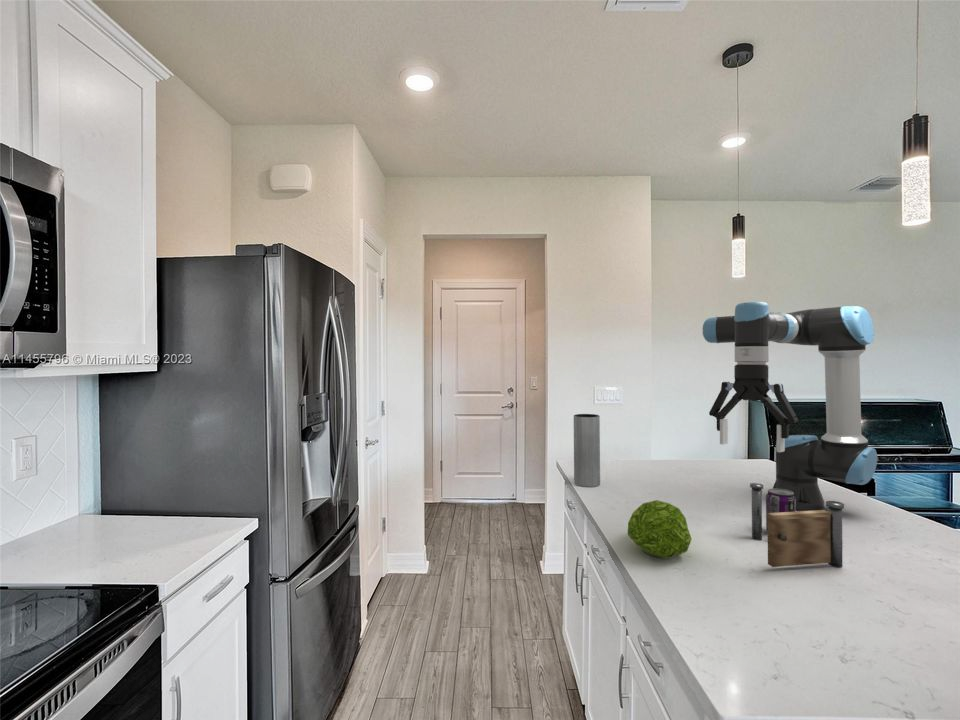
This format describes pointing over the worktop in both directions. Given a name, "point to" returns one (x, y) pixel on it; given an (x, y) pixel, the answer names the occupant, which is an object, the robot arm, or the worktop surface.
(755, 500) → the post
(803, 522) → the gate
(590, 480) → the vase
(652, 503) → the lettuce
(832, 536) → the hinge post
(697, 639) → the worktop surface
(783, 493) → the beverage can
